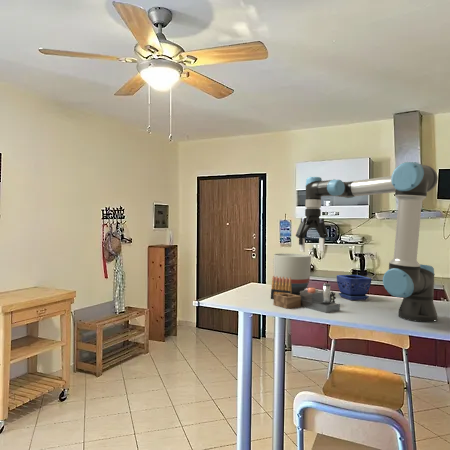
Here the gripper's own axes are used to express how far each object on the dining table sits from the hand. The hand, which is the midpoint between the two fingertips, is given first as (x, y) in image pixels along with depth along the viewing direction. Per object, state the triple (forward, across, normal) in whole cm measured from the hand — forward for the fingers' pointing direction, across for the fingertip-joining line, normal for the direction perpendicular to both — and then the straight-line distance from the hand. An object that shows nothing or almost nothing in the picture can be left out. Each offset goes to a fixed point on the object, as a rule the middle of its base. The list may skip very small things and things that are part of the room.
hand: (311, 251), depth 200 cm
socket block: (+26, +6, +11) cm, 28 cm away
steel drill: (+26, +6, +16) cm, 31 cm away
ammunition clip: (+26, +8, -12) cm, 30 cm away
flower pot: (+26, -29, +3) cm, 39 cm away
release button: (+20, +6, +7) cm, 22 cm away
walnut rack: (+25, +16, 0) cm, 30 cm away
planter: (+26, -9, -24) cm, 36 cm away
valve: (+26, -4, +4) cm, 26 cm away
